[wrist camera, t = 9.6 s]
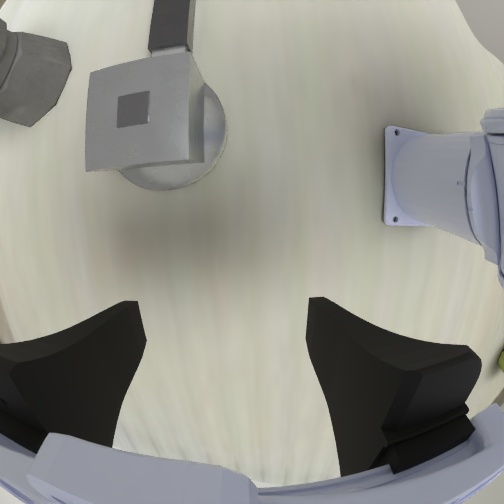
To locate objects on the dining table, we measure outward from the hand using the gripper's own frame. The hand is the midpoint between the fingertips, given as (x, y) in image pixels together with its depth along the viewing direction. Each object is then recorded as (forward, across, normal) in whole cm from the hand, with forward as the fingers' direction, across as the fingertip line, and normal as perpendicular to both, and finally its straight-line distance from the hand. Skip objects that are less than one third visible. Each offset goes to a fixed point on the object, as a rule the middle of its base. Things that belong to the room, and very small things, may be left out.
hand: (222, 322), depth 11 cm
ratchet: (+10, +4, -16) cm, 19 cm away
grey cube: (+7, +4, -9) cm, 13 cm away
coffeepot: (+10, +19, -18) cm, 28 cm away
